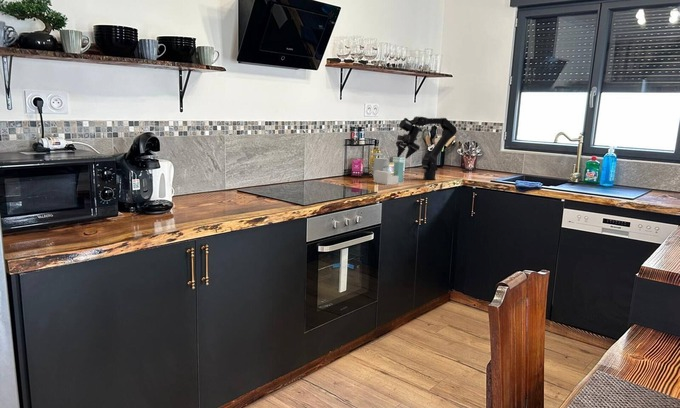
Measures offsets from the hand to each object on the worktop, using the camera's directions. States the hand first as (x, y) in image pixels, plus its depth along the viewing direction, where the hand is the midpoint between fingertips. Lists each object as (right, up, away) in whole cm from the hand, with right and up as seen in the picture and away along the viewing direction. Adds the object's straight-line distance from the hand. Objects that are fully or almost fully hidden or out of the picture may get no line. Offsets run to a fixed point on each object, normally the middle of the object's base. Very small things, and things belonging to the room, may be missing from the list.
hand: (401, 157), depth 316 cm
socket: (-11, -16, -10) cm, 22 cm away
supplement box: (-12, -12, +13) cm, 21 cm away
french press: (-14, -9, +27) cm, 31 cm away
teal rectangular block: (-3, -15, -5) cm, 16 cm away
